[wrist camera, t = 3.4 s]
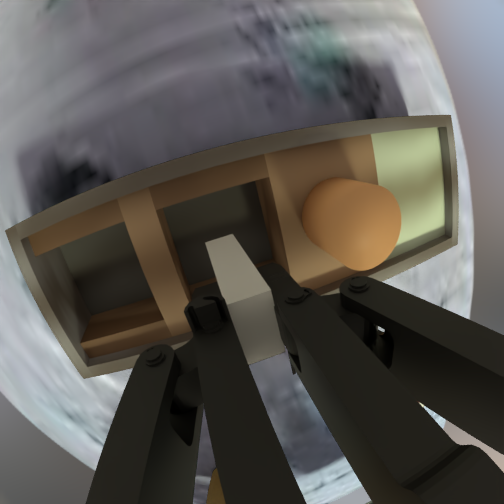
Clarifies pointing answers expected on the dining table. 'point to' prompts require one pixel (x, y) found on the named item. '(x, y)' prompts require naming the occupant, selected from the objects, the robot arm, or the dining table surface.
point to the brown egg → (352, 221)
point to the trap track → (223, 229)
